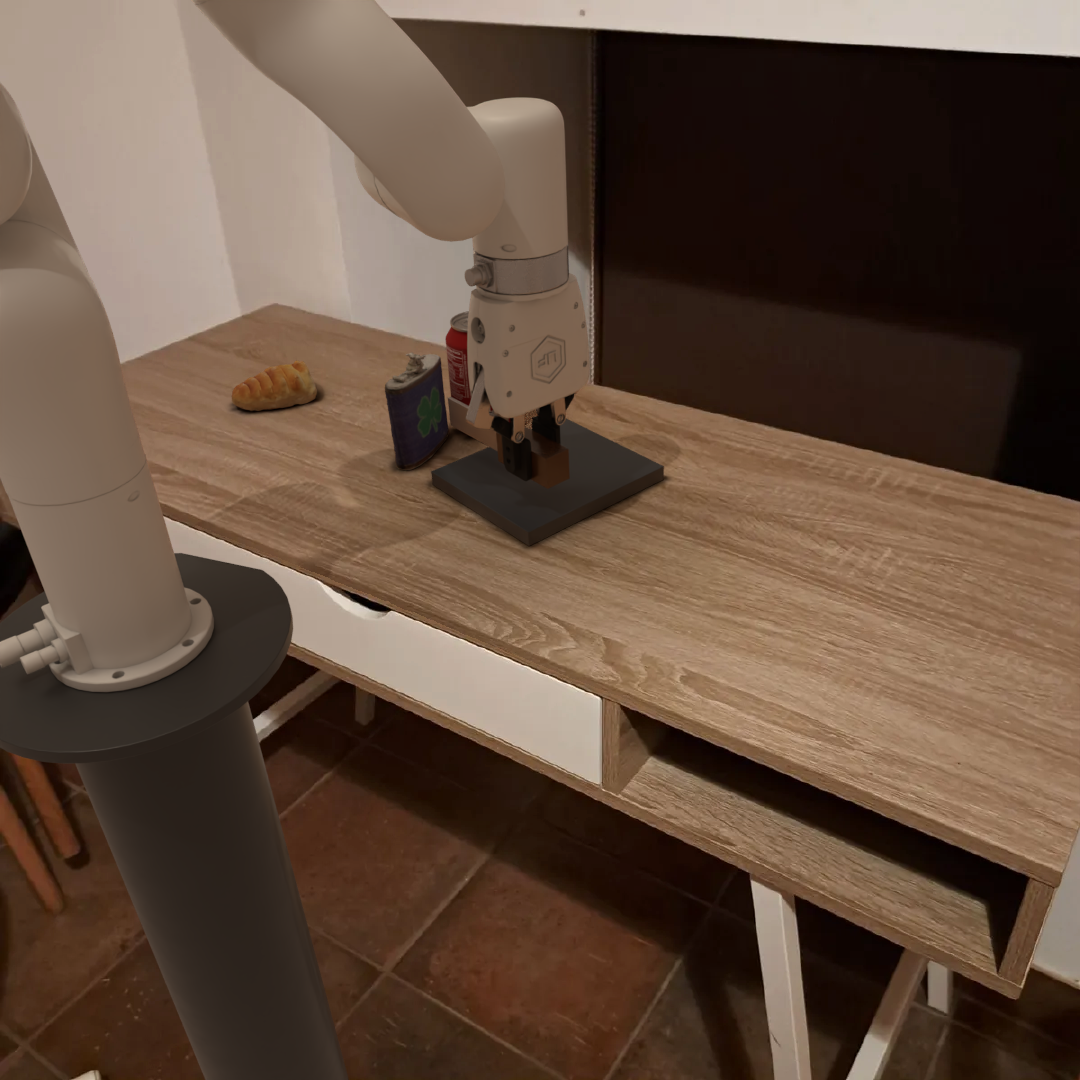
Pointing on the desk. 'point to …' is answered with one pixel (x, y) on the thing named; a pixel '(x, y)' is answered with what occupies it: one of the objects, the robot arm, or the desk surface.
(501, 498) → the board
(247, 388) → the pastry
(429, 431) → the flask
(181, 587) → the robot arm
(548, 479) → the knife
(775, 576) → the desk surface
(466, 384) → the soda can
